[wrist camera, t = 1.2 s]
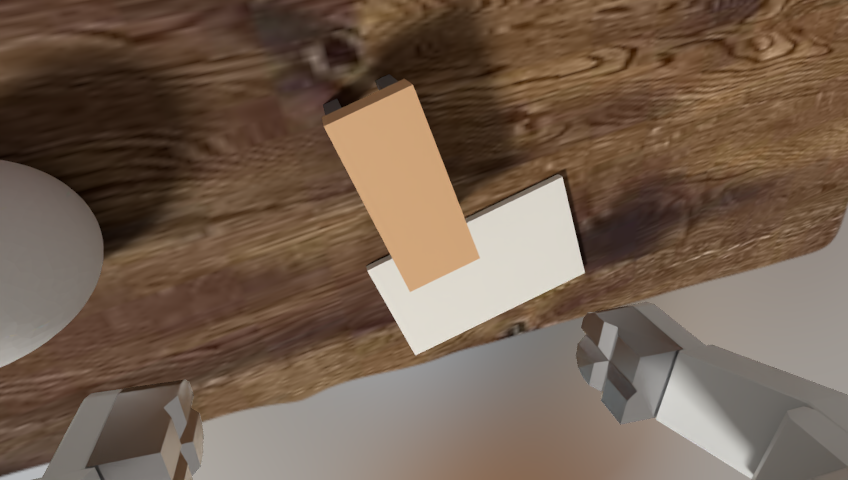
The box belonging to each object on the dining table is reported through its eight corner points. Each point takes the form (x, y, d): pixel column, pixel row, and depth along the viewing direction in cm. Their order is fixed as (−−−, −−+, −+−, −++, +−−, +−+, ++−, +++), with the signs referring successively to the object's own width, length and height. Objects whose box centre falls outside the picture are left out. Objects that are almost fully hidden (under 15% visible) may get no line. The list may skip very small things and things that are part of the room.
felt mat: (558, 174, 42) (562, 176, 42) (580, 268, 49) (584, 272, 48) (366, 266, 42) (367, 270, 41) (413, 350, 48) (415, 355, 47)
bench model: (318, 101, 34) (323, 126, 27) (389, 67, 34) (412, 84, 27) (390, 243, 41) (409, 292, 35) (449, 215, 42) (480, 258, 35)
